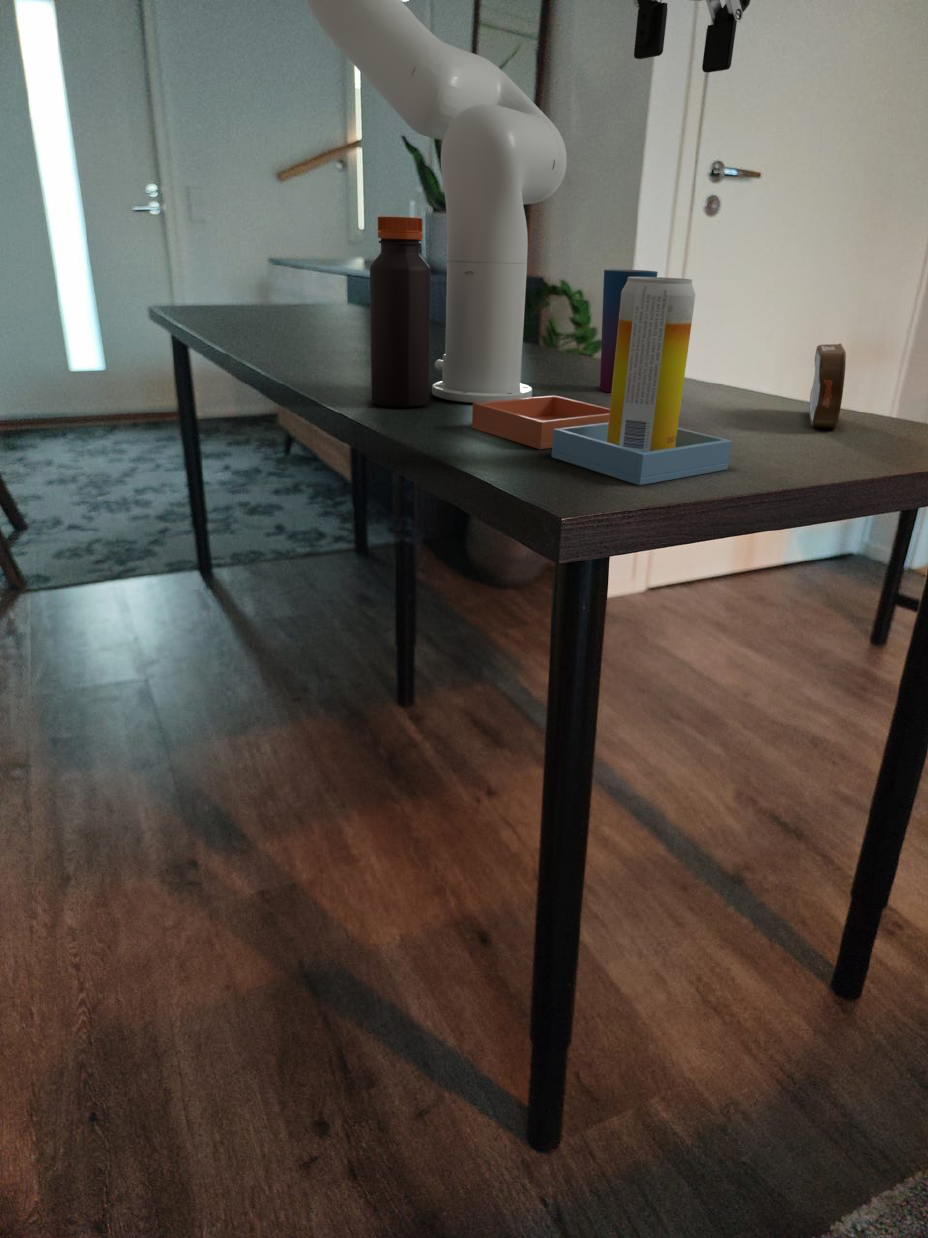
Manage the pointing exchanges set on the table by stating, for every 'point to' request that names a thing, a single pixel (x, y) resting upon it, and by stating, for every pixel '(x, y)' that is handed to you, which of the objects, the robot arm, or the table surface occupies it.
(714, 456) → the blue tray
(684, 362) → the beer can
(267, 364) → the table surface
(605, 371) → the cup
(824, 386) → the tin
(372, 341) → the bottle
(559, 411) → the terracotta tray
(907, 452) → the table surface
